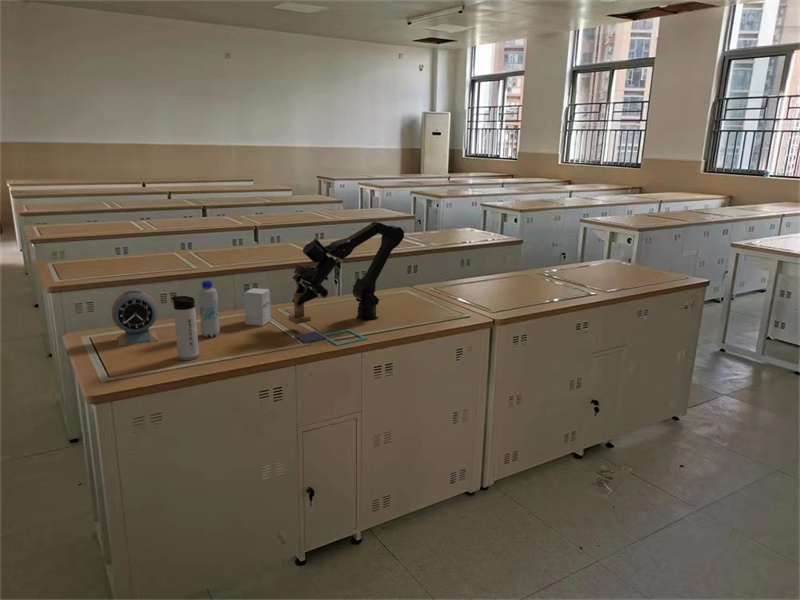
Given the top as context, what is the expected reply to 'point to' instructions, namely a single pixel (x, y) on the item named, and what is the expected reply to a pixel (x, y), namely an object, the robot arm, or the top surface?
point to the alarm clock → (135, 317)
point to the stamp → (298, 311)
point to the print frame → (346, 341)
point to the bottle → (208, 309)
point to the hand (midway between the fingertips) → (295, 303)
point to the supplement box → (257, 306)
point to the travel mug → (186, 327)
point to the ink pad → (310, 337)
